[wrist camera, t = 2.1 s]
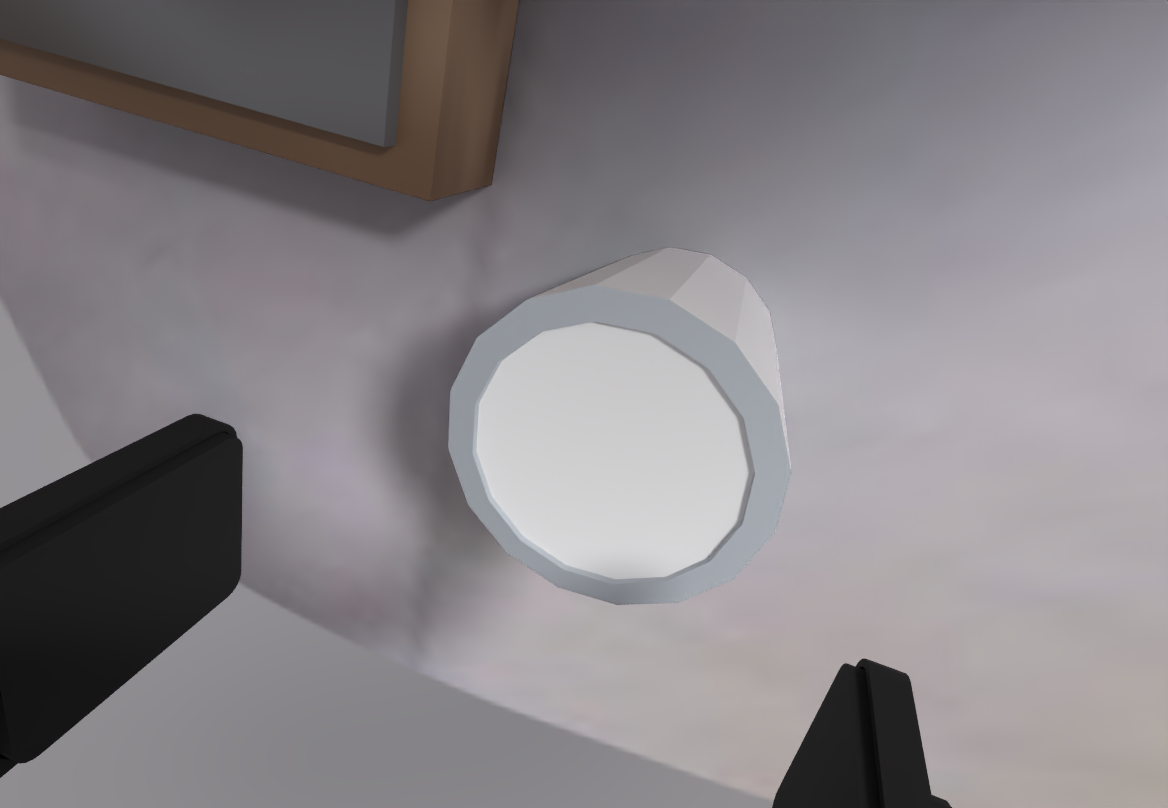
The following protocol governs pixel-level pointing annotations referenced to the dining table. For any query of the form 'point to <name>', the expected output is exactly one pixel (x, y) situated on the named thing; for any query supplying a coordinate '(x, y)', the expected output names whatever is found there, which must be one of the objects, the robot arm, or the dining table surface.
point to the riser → (290, 77)
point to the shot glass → (627, 429)
